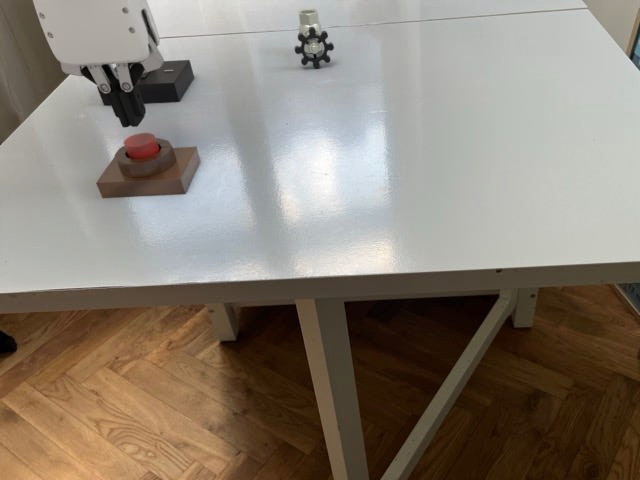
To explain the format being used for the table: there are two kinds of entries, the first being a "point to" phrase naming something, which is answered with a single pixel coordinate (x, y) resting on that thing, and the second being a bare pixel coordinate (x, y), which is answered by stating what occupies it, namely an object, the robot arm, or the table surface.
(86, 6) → the robot arm
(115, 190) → the button block
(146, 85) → the panel
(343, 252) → the table surface
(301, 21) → the valve
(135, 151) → the button
